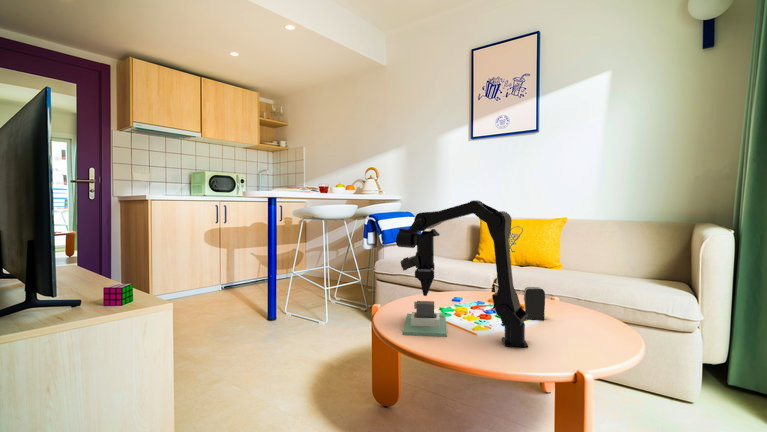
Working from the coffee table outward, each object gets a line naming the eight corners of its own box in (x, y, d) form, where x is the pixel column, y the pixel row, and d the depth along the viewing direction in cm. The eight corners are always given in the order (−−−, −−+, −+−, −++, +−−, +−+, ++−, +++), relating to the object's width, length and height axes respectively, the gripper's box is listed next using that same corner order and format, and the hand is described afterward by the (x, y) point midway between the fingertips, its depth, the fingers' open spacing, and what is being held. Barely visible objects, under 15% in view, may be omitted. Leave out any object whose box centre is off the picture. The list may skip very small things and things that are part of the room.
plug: (434, 324, 125) (434, 304, 125) (414, 324, 126) (414, 303, 126) (434, 321, 129) (434, 301, 129) (414, 320, 130) (414, 300, 130)
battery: (542, 317, 136) (542, 286, 136) (545, 320, 133) (545, 288, 132) (522, 316, 138) (522, 285, 137) (524, 319, 134) (525, 288, 133)
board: (446, 336, 117) (446, 325, 117) (402, 334, 119) (402, 324, 119) (445, 317, 137) (445, 308, 137) (407, 316, 139) (407, 306, 139)
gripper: (404, 245, 137) (404, 287, 138) (399, 252, 119) (399, 300, 119) (434, 245, 136) (434, 288, 136) (434, 252, 117) (434, 301, 118)
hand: (425, 294), depth 127 cm, fingers open, 5 cm apart
